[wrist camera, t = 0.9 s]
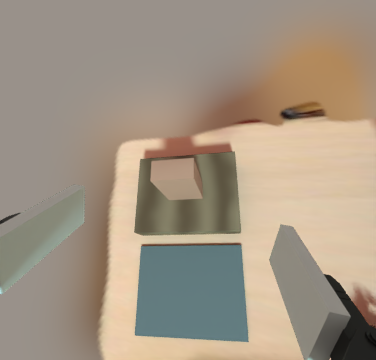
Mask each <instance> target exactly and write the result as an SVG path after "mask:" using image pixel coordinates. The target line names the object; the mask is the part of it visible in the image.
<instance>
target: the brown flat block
mask: <svg viewBox="0 0 376 360" xmlns="http://www.w3.org/2000/svg"><path fill="white" fill-rule="evenodd" d="M185 158H194V160H195V163H196V166H197V169H198V171H199V174H200V177H201V180H202V183H203V199H184V200H168V199H167V198H166V197H165V196H164V195H163V194H162V192H161V191H160V190H159V189H158V188H157V187H156V186H155V185H154V184H153V183H152V182H151V181H150V178H151V162H152V161H159V160H172V159H185ZM240 232H241V224H240V211H239V198H238V185H237V172H236V159H235V152H224V153H212V154H199V155H187V156H174V157H162V158H149V159H140V170H139V182H138V194H137V206H136V219H135V231H134V233H137V234H140V235H187V234H235V233H240Z"/></svg>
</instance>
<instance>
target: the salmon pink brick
mask: <svg viewBox="0 0 376 360" xmlns="http://www.w3.org/2000/svg"><path fill="white" fill-rule="evenodd" d="M150 181H151V182H152V183H153V184H154V185H155V186H156V187H157V188H158V189H159V190H160V191H161V192H162V194H163V195H164V196H165V197H166V198H167V199H168V200H184V199H203V183H202V180H201V177H200V174H199V171H198V169H197V166H196V163H195V160H194V158H185V159H172V160H159V161H152V162H151V178H150Z"/></svg>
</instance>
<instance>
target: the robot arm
mask: <svg viewBox="0 0 376 360" xmlns="http://www.w3.org/2000/svg"><path fill="white" fill-rule="evenodd" d="M84 209H85V187H84V186H80V185H72V186H70V187H68V188H66V189H65V190H63V191H61V192H59V193H57V194H55V195H53V196H52V197H50V198H48V199H46V200H44V201H42V202H41V203H39V204H37V205H35V206H33V207H31V208H30V209H28V210H26V211H24V212H22V213H18V214H14V215H11V216H8V217H6V218H4V219H3V220H1V221H0V294H3V293H4V292H5V291H6V290H8V289H9V288H10V287H11V286H12V285H13V284H15V283H16V282H17V281H18V280H19V279H20V278H21V277H22V276H24V275H25V274H26V273H27V272H28V271H29V270H30V269H32V268H33V267H34V266H35V265H36V264H37V263H38V262H40V261H41V260H42V259H43V258H44V257H45V256H46V255H48V254H49V253H50V252H51V251H52V250H53V249H54V248H55V247H57V246H58V245H59V244H60V243H61V242H62V241H64V240H65V239H66V238H67V237H68V236H69V235H70V234H72V233H73V232H74V231H75V230H76V229H77V228H78V227H79V226H81V225H82V224H83V223H84ZM269 261H270V264H271V266H272V269H273V272H274V275H275V278H276V281H277V284H278V286H279V289H280V292H281V295H282V298H283V301H284V303H285V306H286V309H287V312H288V315H289V318H290V321H291V323H292V326H293V329H294V332H295V335H296V338H297V341H298V343H299V346H300V349H301V352H302V355H303V358H304V360H329V359H330V358H331V360H376V328H374V327H372V326H369V324H368V323H367V322H366V320H365V319H364V317H363V316H362V315H361V313H360V312H359V310H358V309H357V307H356V306H355V305H354V303H353V302H352V301H351V299H350V297H349V296H348V295H347V294H346V292H345V290H344V289H343V288H342V286H341V285H340V283H338V282H337V281H336V280H335V279H334V278H333V277H332V276H330V275H326V274H323V273H322V271H321V270H320V268H319V266H318V265H317V263H316V262H315V260H314V259H313V257H312V256H311V254H310V252H309V251H308V249H307V248H306V246H305V245H304V243H303V242H302V240H301V239H300V237H299V235H298V234H297V232H296V231H295V229H294V228H293V227H292V226H287V225H280V228H279V231H278V234H277V238H276V241H275V244H274V247H273V250H272V253H271V256H270V259H269Z"/></svg>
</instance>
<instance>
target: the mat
mask: <svg viewBox="0 0 376 360" xmlns="http://www.w3.org/2000/svg"><path fill="white" fill-rule="evenodd" d="M135 335H136V336H153V337H171V338H188V339H206V340H223V341H241V342H248V329H247V315H246V302H245V289H244V276H243V263H242V249H241V245H202V246H141V256H140V270H139V284H138V298H137V313H136V327H135Z"/></svg>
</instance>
